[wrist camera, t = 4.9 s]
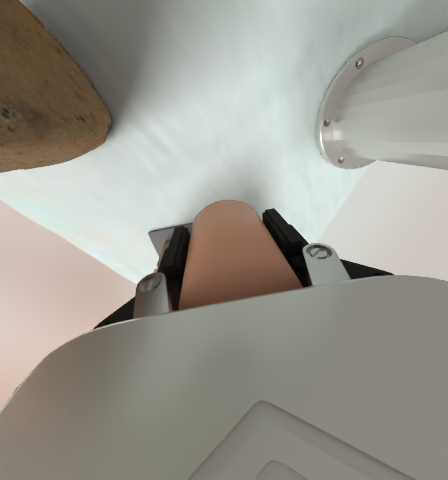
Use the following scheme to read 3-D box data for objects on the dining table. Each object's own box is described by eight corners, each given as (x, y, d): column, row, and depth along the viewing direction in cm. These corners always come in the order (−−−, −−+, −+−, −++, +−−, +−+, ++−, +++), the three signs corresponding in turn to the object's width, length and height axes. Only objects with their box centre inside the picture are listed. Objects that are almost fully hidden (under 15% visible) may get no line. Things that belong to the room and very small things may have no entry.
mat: (210, 219, 27) (210, 220, 26) (221, 266, 32) (221, 267, 32) (148, 232, 27) (148, 233, 26) (170, 277, 32) (169, 278, 32)
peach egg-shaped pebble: (260, 193, 10) (311, 249, 5) (263, 255, 13) (299, 332, 8) (181, 208, 10) (158, 277, 5) (200, 267, 13) (196, 350, 8)
